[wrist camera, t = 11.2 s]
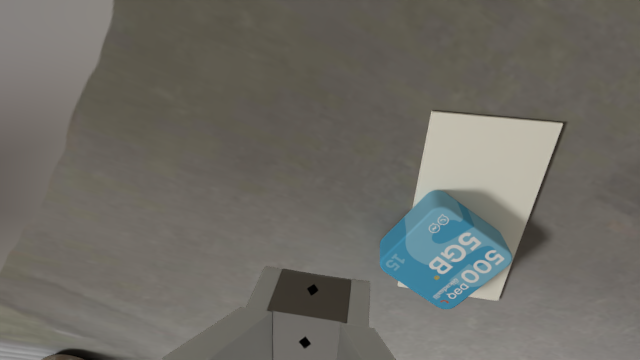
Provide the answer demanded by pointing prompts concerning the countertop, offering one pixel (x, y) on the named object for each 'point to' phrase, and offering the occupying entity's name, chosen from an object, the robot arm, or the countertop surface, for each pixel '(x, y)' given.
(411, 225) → the data package
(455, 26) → the countertop surface
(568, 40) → the countertop surface
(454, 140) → the mat
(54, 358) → the planter
